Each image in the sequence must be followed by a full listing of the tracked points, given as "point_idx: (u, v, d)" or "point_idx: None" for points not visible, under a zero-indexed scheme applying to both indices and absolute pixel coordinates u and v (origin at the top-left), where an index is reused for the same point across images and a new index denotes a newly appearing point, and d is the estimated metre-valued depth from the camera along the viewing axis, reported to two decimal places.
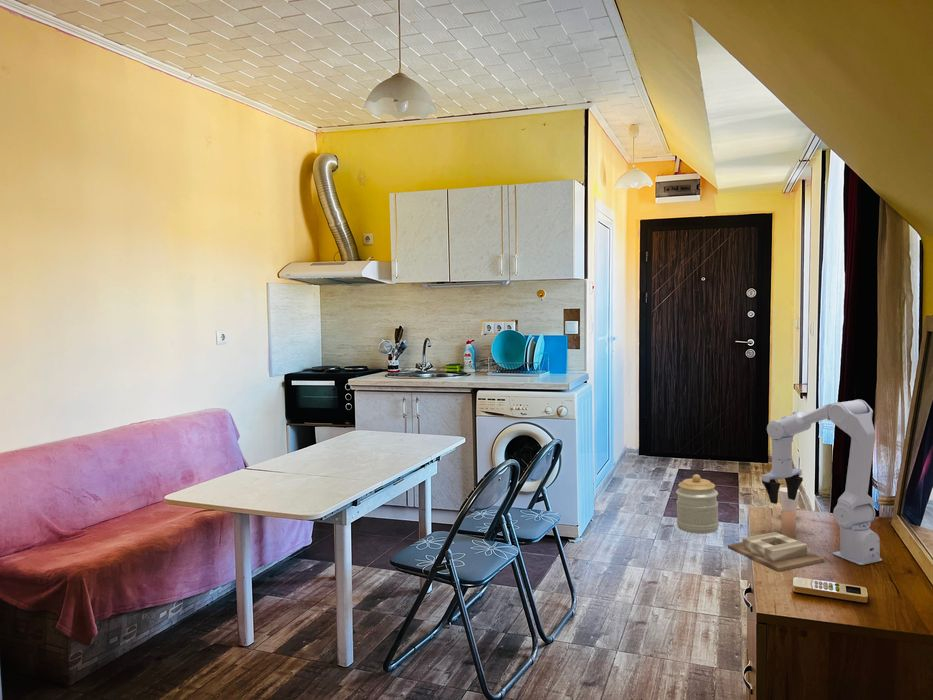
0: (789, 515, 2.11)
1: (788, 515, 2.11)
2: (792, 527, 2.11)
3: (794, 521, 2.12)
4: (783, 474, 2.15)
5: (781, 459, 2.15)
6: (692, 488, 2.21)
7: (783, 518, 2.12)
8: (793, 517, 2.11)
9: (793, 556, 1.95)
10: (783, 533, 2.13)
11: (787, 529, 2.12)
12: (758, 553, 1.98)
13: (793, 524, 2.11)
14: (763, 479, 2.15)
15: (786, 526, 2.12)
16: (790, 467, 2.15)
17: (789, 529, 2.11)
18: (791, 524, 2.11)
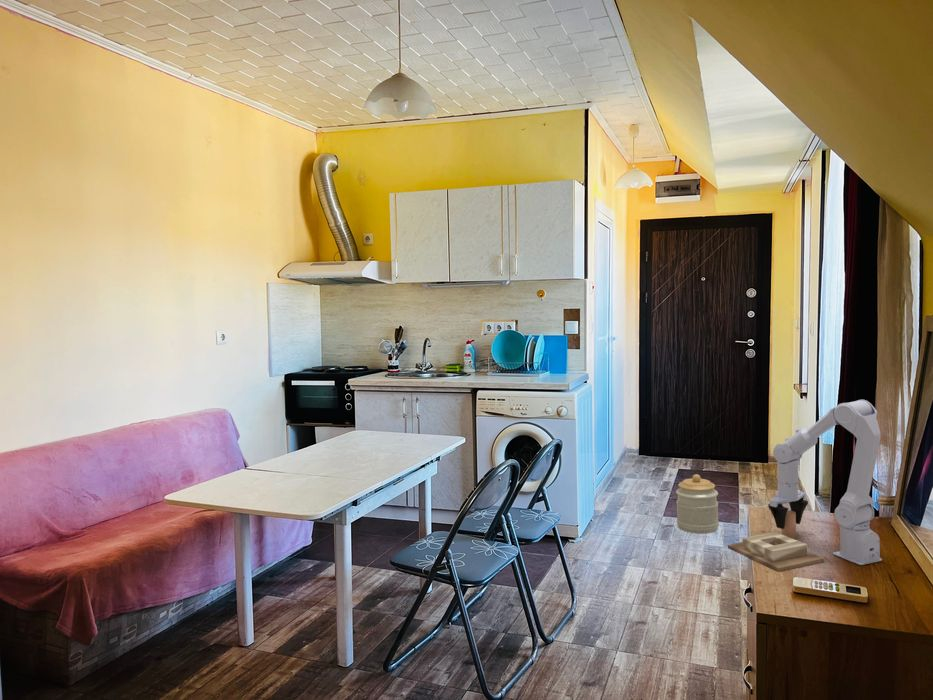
0: (789, 515, 2.11)
1: (788, 515, 2.11)
2: (792, 527, 2.11)
3: (794, 521, 2.12)
4: (790, 498, 2.10)
5: (789, 483, 2.10)
6: (692, 488, 2.21)
7: None
8: (793, 517, 2.11)
9: (793, 556, 1.95)
10: (783, 533, 2.13)
11: (787, 529, 2.12)
12: (758, 553, 1.98)
13: (793, 524, 2.11)
14: (771, 504, 2.10)
15: (786, 526, 2.12)
16: (797, 491, 2.10)
17: (789, 529, 2.11)
18: (791, 524, 2.11)
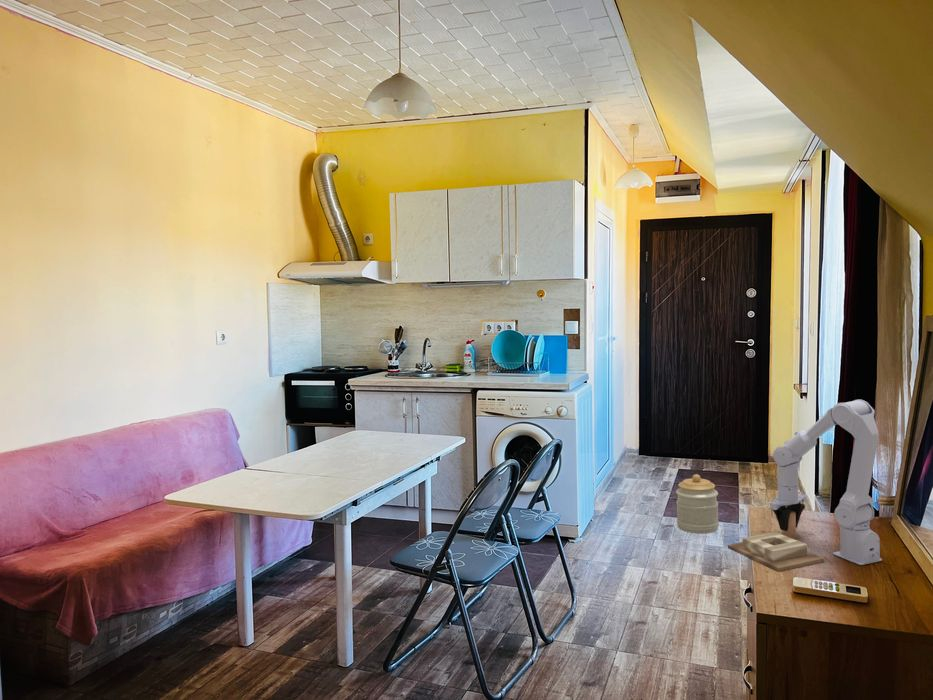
0: None
1: None
2: (792, 527, 2.11)
3: (794, 521, 2.12)
4: (790, 501, 2.10)
5: (789, 486, 2.10)
6: (692, 488, 2.21)
7: None
8: (793, 517, 2.11)
9: (793, 556, 1.95)
10: (783, 533, 2.13)
11: None
12: (758, 553, 1.98)
13: (793, 524, 2.11)
14: (771, 507, 2.10)
15: None
16: (797, 494, 2.10)
17: (789, 529, 2.11)
18: (790, 524, 2.11)
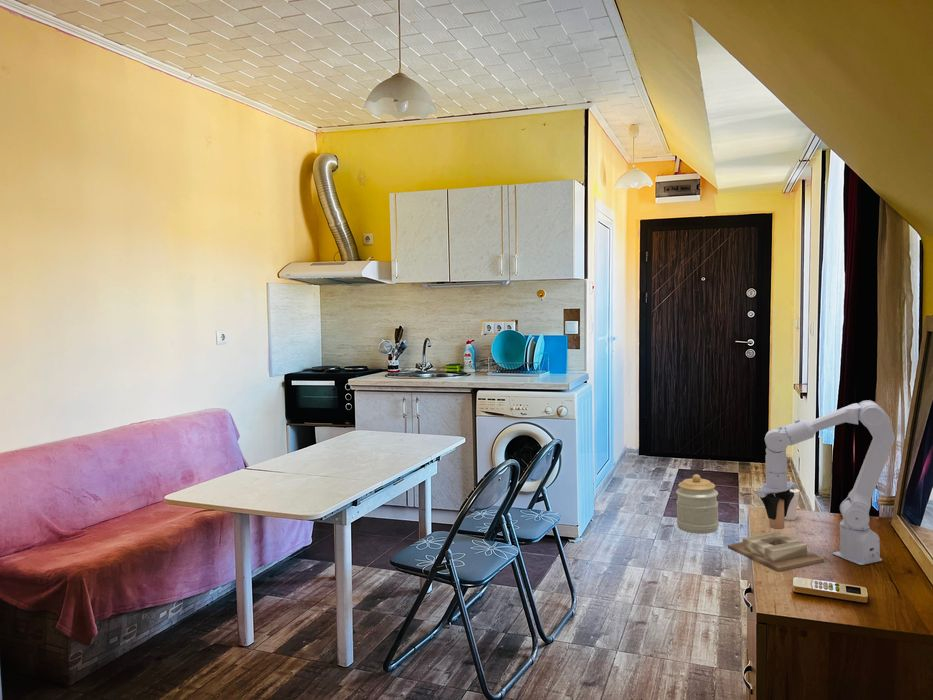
0: None
1: None
2: (780, 516, 2.01)
3: (782, 509, 2.01)
4: (779, 489, 1.99)
5: (783, 472, 1.99)
6: (692, 488, 2.21)
7: None
8: (781, 505, 2.01)
9: (793, 556, 1.95)
10: (771, 522, 2.03)
11: None
12: (758, 553, 1.98)
13: (781, 512, 2.01)
14: (758, 494, 1.99)
15: None
16: (786, 481, 2.00)
17: (777, 517, 2.01)
18: (778, 513, 2.01)
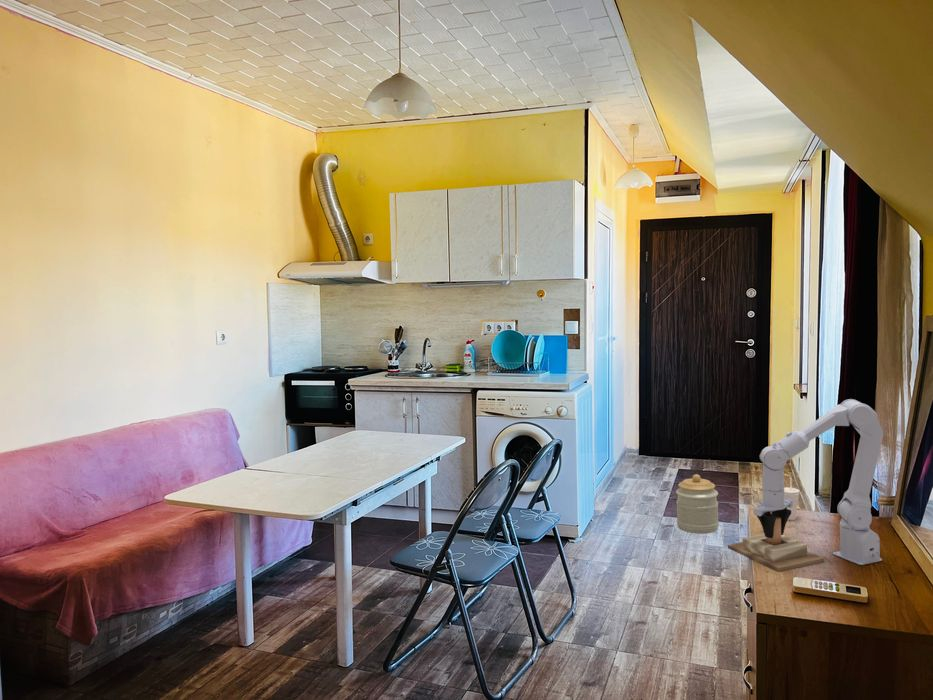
0: None
1: None
2: (777, 534, 1.98)
3: (779, 528, 1.98)
4: (776, 507, 1.96)
5: (782, 490, 1.97)
6: (692, 488, 2.21)
7: None
8: (778, 523, 1.98)
9: (793, 556, 1.95)
10: (767, 540, 2.00)
11: None
12: (758, 553, 1.98)
13: (778, 531, 1.98)
14: (755, 513, 1.96)
15: None
16: (783, 499, 1.97)
17: (774, 536, 1.98)
18: (775, 531, 1.98)
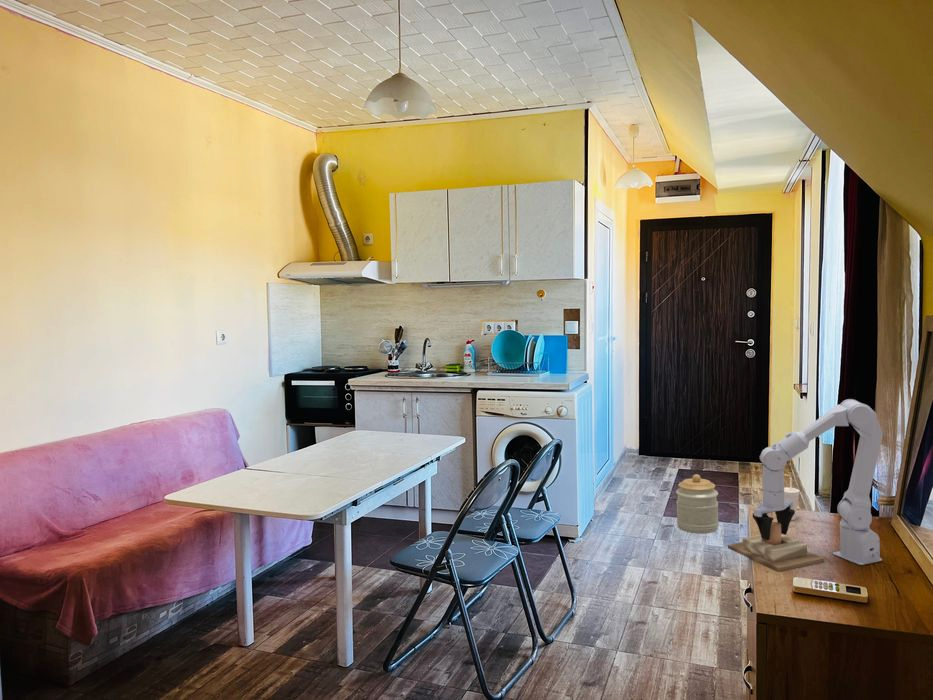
0: (774, 527, 1.98)
1: (773, 527, 1.98)
2: (777, 540, 1.98)
3: (779, 533, 1.99)
4: (776, 508, 1.97)
5: (782, 491, 1.97)
6: (692, 488, 2.21)
7: None
8: (778, 529, 1.98)
9: (793, 556, 1.95)
10: None
11: (772, 542, 1.99)
12: (758, 553, 1.98)
13: (778, 537, 1.98)
14: (755, 514, 1.97)
15: (770, 539, 1.99)
16: (783, 500, 1.97)
17: (774, 542, 1.98)
18: (775, 537, 1.98)
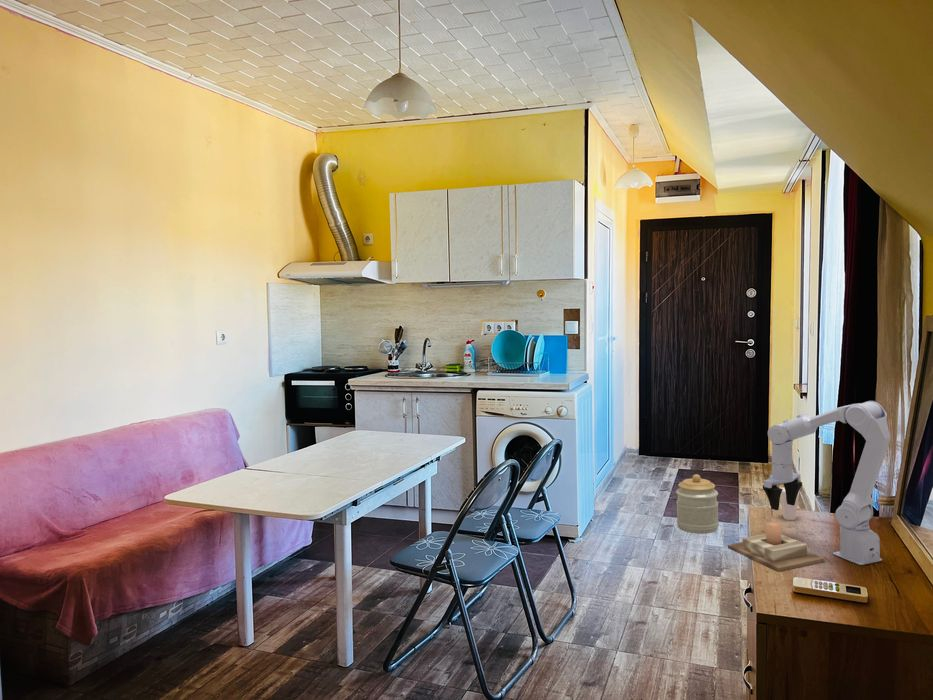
0: (774, 527, 1.98)
1: (773, 527, 1.98)
2: (777, 540, 1.98)
3: (779, 533, 1.99)
4: (785, 479, 2.08)
5: (784, 464, 2.08)
6: (692, 488, 2.21)
7: (768, 530, 1.99)
8: (778, 529, 1.98)
9: (793, 556, 1.95)
10: None
11: (772, 542, 1.99)
12: (758, 553, 1.98)
13: (778, 537, 1.98)
14: (765, 485, 2.08)
15: (770, 539, 1.99)
16: (791, 472, 2.09)
17: (774, 542, 1.98)
18: (775, 537, 1.98)
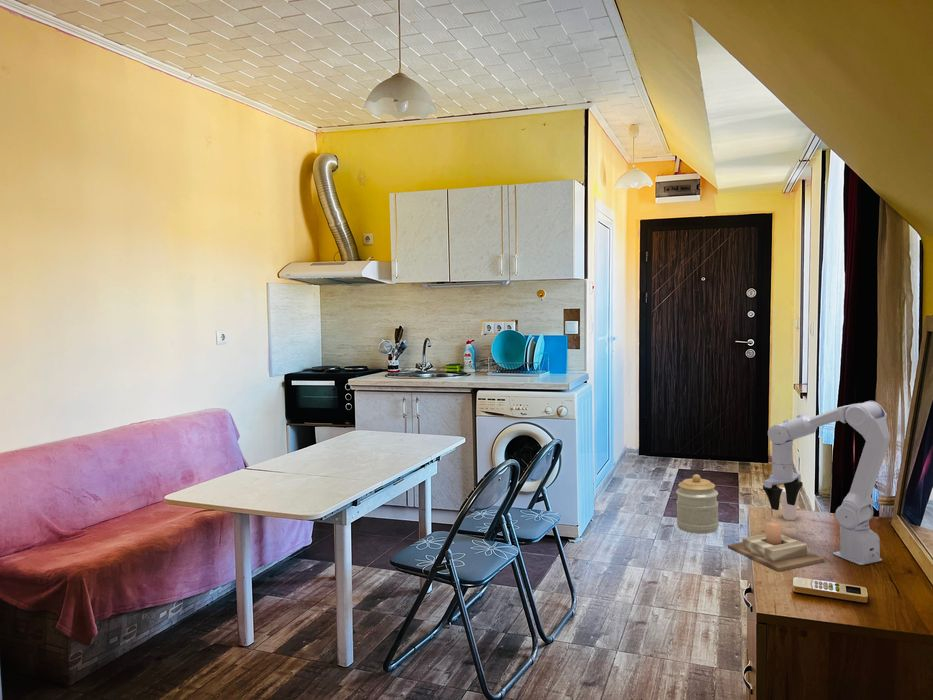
0: (774, 527, 1.98)
1: (773, 527, 1.98)
2: (777, 540, 1.98)
3: (779, 533, 1.99)
4: (785, 479, 2.09)
5: (784, 464, 2.09)
6: (692, 488, 2.21)
7: (768, 530, 2.00)
8: (778, 529, 1.98)
9: (793, 556, 1.95)
10: None
11: (772, 542, 1.99)
12: (758, 553, 1.98)
13: (778, 537, 1.98)
14: (765, 485, 2.09)
15: (770, 539, 1.99)
16: (791, 472, 2.09)
17: (774, 542, 1.98)
18: (775, 537, 1.98)
